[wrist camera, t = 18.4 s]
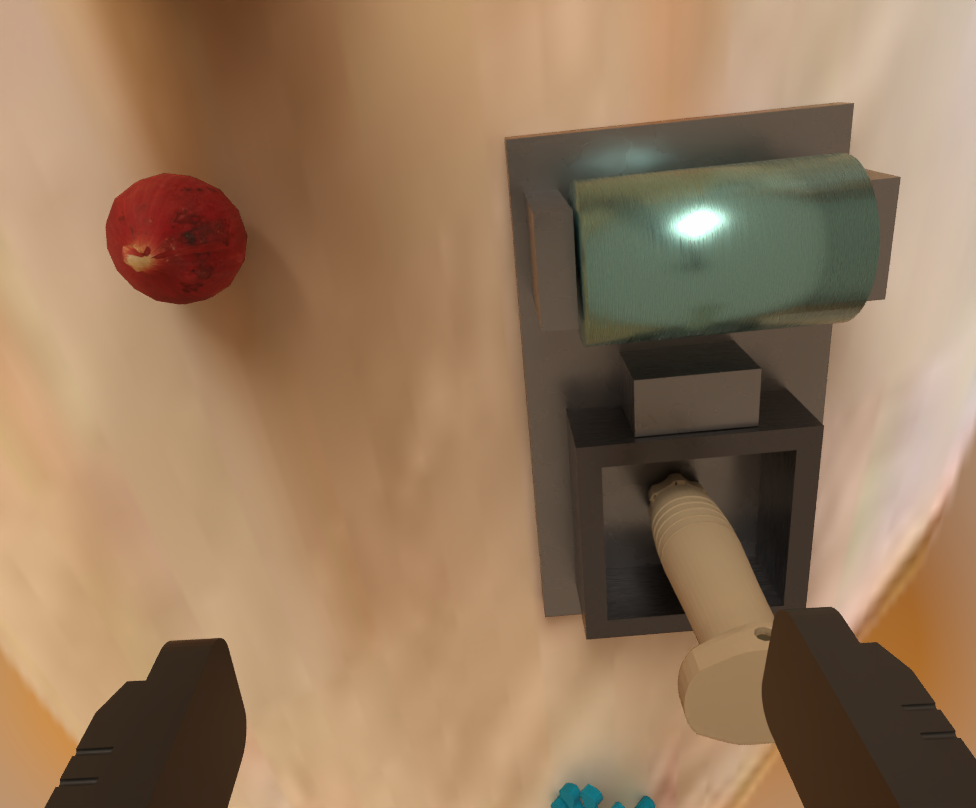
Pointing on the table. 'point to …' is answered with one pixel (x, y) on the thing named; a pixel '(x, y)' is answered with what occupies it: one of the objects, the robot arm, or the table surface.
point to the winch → (685, 338)
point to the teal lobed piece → (589, 798)
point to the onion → (176, 238)
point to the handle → (714, 613)
